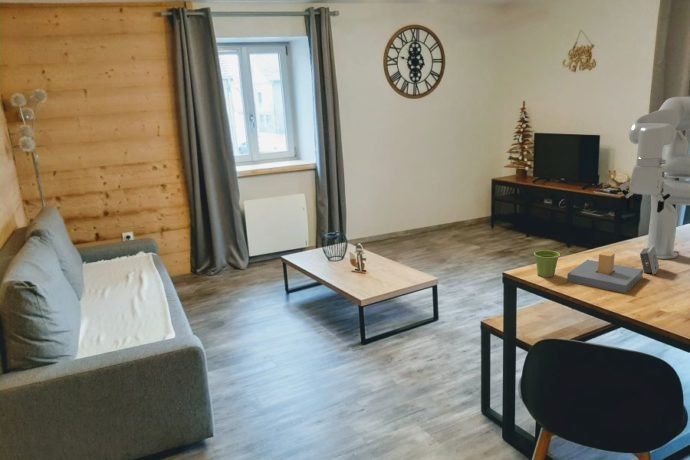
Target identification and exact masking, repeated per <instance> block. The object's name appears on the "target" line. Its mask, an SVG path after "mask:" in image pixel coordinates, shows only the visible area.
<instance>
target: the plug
mask: <svg viewBox="0 0 690 460" xmlns="http://www.w3.org/2000/svg"><path fill="white" fill-rule="evenodd" d="M597 262H598V273H601V274H607V275H612V274H613V267H614V265H615V253H613V252H608V251H602V252H600V253H599V254H598V261H597Z"/></svg>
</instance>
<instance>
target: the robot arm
mask: <svg viewBox="0 0 690 460" xmlns="http://www.w3.org/2000/svg"><path fill="white" fill-rule="evenodd" d="M681 131H690V96H672V97H670V98H667V99H666V100H665V101H664V102H663V104H661V106H660V107H659V109H658V110H655V111H652V112H650V113H646V114H644V115H641V116H639V117H638V118H637V119H636V120H635V121H634V123H633V124H632V125H631V126H630V129H629V134H628V137H629V138H628V139H629V141H630V142H631V143H632V144H634V145H637V154H636V164H634V166H633V169H632V172H631V176H630V181H627V182H624V183H621V184H620V185H619V188H620V190H621V193H622V194H623V195H624V196H625V198H626V201H625V203H626V204H625V205H626V207H627V210H630V209H632V208H633V205H634V204H633V203H634V196H633V195H644V196H650V203H651V204H650V206H651V207H650V216H649V217H650V218H649V226H648V227H649V228H648V235H647V244H646V248H650V247H651V246H654V247H655V251H656V255H657V259H661V260H662V259H663V260H669V259H671V260H673V259H675V258H677V257H678V252H676V250H674V249H675V242H676V233H677V223H678V218H679V217H678V216H679V215H678V212H677V209H676V208H675V207H674V206H673V205H679V206H680V205H681V206H690V181H689V180H690V154H688V148H689V141H688V139H687V138H686V136H685V135H684V134H683V133H682V132H681ZM666 177H667V178H674V179H665V178H666ZM676 178H678V179H688V180H676ZM628 186H629V188H628V189H629V191H628V190H627V188H626V187H628ZM646 248H644V249H646Z"/></svg>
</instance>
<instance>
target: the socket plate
mask: <svg viewBox="0 0 690 460" xmlns="http://www.w3.org/2000/svg"><path fill="white" fill-rule="evenodd" d="M598 262H599V261H595V260H590V259H586V260H585V261H583V262H582V263H580V264H579V265H578V266H576V267H575V268H574V269H572V270H571V271H569V272H568V273H567V279H566V282H568V283H573V284H578V285H582V286H588V287H592V288H597V289H600V290H601V289H603V290H608V291H610V292H611V291H612V292H617V293H621V294H627V292H629V291H630V290H631V288H632V287H633V286H635V285H636V284H637V283H638V282H639V281H640V280H641V279H642V278H643V274H644V270H643V268H642V269H641V268H634V267H631V266H624V265H620V264H619V265H618V264H614V267H613V274H612V275H607V274H601V273H598Z"/></svg>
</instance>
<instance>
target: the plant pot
mask: <svg viewBox="0 0 690 460" xmlns="http://www.w3.org/2000/svg"><path fill="white" fill-rule="evenodd" d="M533 255H534V259H535V262H536V272H537V276H540V277H541V278H551V277H555V273H556V268H557V263H558V261H559V258H560V256H561V253H559V252H558V251H554V250H548V249H546V250H545V249H543V250H542V249H541V250H536V251H534V252H533Z"/></svg>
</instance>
